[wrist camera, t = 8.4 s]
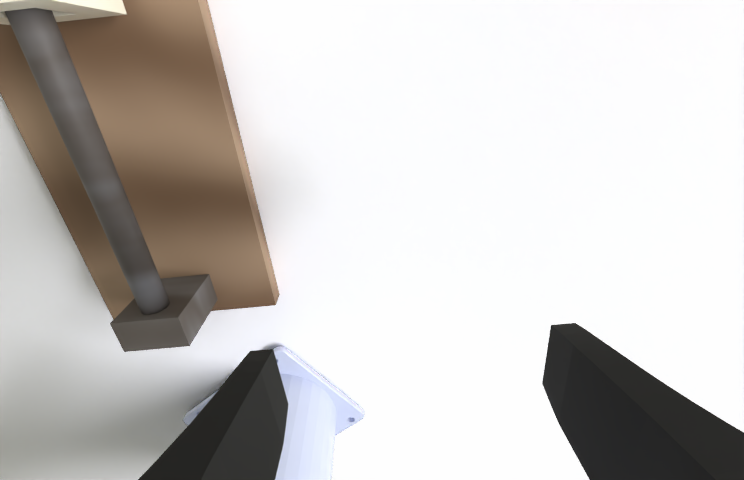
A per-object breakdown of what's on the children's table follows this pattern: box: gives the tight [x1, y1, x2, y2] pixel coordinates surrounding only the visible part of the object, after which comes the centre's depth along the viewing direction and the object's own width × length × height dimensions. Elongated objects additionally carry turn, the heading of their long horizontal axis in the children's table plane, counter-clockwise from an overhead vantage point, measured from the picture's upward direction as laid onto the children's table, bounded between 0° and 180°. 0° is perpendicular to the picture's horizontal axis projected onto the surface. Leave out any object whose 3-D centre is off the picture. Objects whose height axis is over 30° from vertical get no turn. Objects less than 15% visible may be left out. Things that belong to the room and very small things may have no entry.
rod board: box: [0, 0, 279, 352], centre depth 13 cm, size 25×9×5 cm, turn 5°
